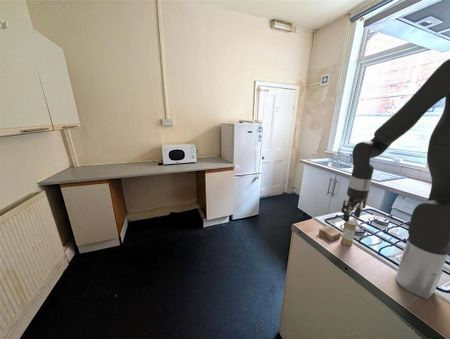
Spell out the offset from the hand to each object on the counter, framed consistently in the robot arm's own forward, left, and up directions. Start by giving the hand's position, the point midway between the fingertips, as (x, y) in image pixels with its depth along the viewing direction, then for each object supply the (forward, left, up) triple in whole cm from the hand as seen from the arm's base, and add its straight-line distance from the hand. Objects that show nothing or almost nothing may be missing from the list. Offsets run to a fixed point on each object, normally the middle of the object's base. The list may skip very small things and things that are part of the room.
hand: (351, 218), depth 83 cm
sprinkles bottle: (0, 0, -13) cm, 13 cm away
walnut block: (+7, +2, -13) cm, 15 cm away
